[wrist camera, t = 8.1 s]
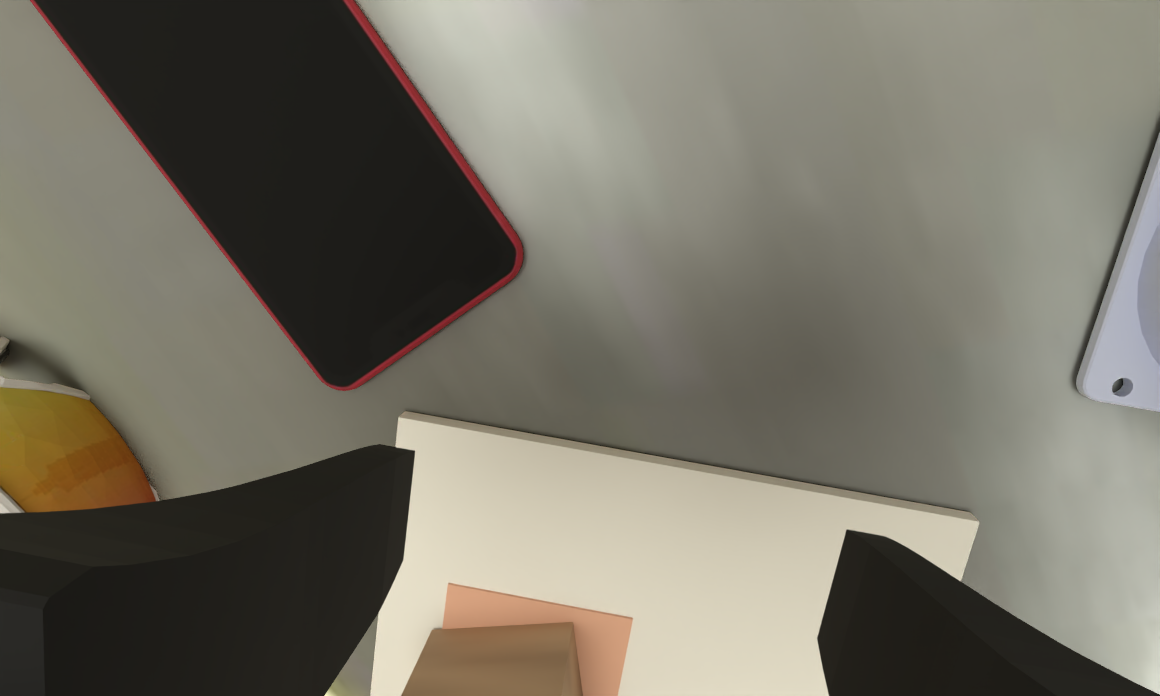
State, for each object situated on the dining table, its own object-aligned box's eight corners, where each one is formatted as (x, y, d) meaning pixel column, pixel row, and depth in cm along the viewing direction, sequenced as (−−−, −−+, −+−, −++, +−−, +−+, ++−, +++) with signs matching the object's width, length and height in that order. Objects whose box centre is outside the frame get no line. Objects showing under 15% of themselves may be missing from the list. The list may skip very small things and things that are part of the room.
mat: (970, 512, 21) (981, 523, 20) (845, 908, 24) (851, 929, 24) (405, 410, 21) (397, 418, 21) (363, 809, 25) (356, 826, 24)
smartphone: (187, -235, 18) (534, 263, 20) (209, -215, 19) (539, 260, 20) (-6, -43, 19) (335, 403, 21) (22, -33, 20) (347, 394, 22)
